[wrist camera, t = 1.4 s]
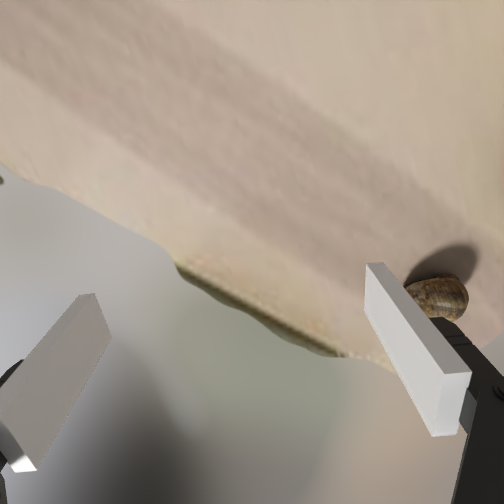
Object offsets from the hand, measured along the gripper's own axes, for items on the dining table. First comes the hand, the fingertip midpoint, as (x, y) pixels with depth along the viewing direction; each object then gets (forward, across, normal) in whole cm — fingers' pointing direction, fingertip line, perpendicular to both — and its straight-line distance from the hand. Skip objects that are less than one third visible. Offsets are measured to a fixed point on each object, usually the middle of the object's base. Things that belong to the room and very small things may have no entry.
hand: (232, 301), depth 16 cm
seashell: (+35, +29, -26) cm, 52 cm away
